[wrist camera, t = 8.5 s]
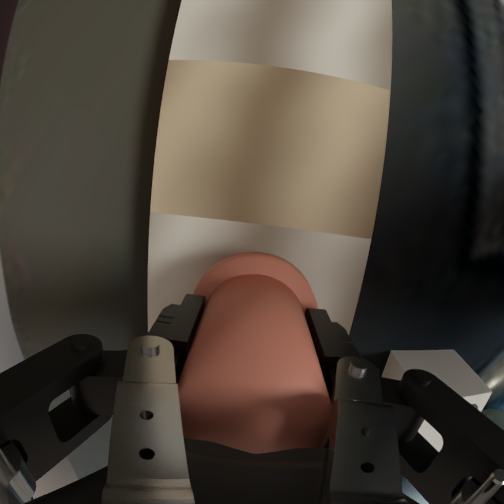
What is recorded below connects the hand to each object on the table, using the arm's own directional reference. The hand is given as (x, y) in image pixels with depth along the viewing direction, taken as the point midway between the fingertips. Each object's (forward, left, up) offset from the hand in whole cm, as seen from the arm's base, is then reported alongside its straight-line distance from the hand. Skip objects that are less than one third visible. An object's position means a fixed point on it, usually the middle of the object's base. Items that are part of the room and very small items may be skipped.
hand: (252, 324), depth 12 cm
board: (0, -3, -4) cm, 5 cm away
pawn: (0, 0, -1) cm, 1 cm away
